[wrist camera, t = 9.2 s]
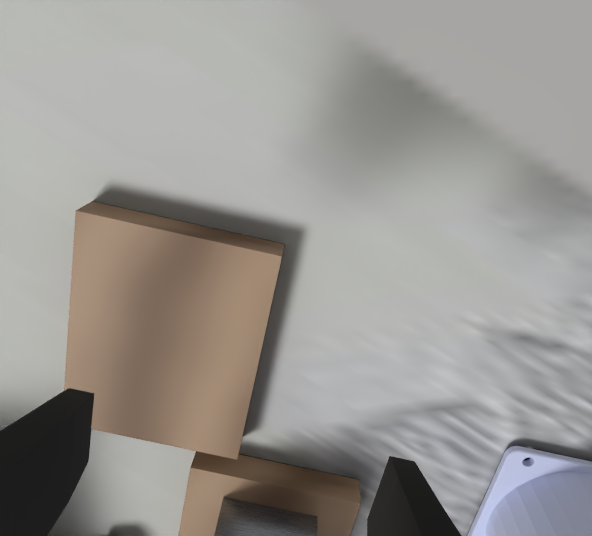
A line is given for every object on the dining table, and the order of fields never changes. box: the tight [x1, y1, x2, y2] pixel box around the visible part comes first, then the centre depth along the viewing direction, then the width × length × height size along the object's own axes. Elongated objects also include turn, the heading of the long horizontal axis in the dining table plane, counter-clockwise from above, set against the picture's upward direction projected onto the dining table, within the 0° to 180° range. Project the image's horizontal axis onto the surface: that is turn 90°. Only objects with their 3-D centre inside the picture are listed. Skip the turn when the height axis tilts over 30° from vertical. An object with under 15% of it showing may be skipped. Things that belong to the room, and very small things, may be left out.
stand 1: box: [64, 201, 285, 460], centre depth 23 cm, size 8×10×2 cm
